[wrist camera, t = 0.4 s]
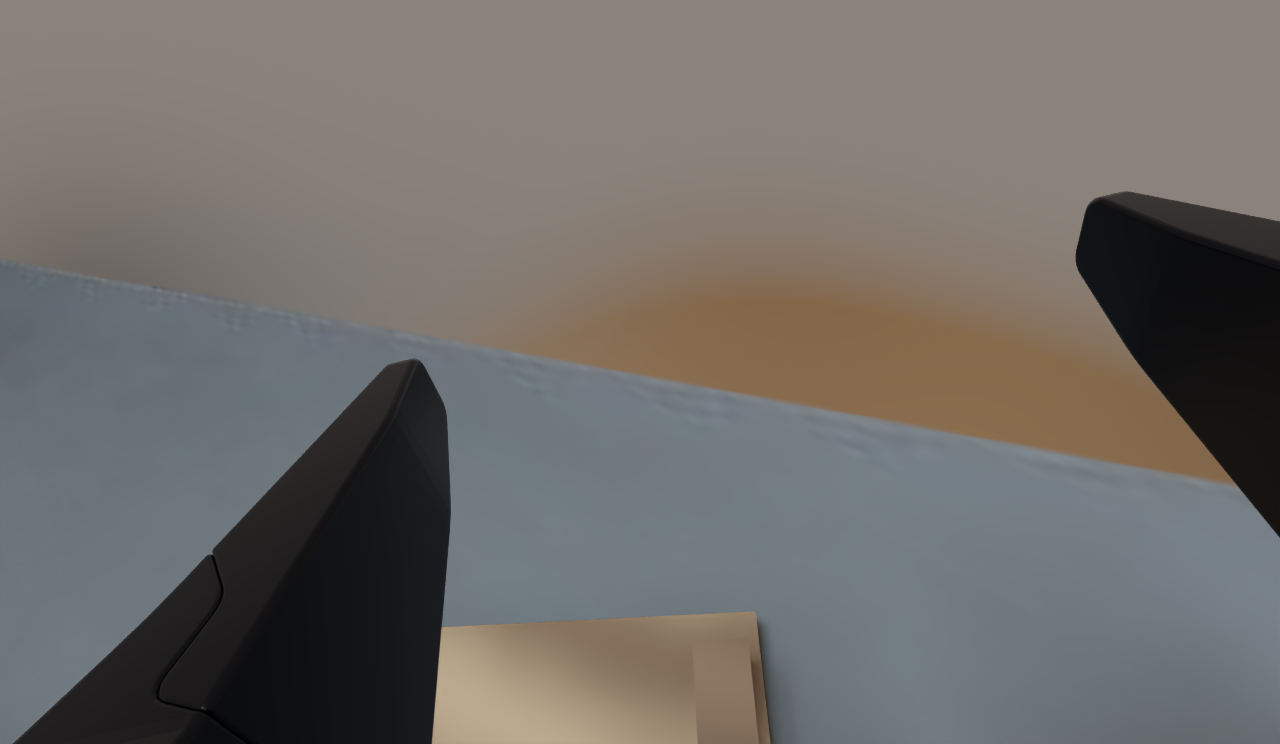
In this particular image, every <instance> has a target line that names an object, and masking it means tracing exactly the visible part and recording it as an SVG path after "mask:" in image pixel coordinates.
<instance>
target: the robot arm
mask: <svg viewBox="0 0 1280 744" xmlns="http://www.w3.org/2000/svg"><path fill="white" fill-rule="evenodd" d="M1076 265H1077V268H1078V271H1079V273H1080V274H1081V276H1082V278H1083V279H1084V281H1085V282H1086V284H1087V286H1088V287H1089V289H1090V290H1091V292H1092V294H1093V295H1094V297H1095V298H1096V300H1097V301H1098V303H1099V305H1100V306H1101V308H1102V309H1103V311H1104V312H1105V314H1106V315H1107V317H1108V319H1109V320H1110V322H1111V324H1112V325H1113V327H1114V328H1115V330H1116V331H1117V333H1118V335H1119V336H1120V338H1121V339H1122V341H1123V343H1124V344H1125V346H1126V347H1127V348H1128V350H1129V351H1130V353H1131V354H1132V356H1133V357H1134V359H1135V360H1136V361H1137V363H1138V364H1139V365H1140V366H1141V368H1142V369H1143V370H1144V372H1145V373H1146V374H1147V375H1148V377H1149V378H1150V379H1151V380H1152V382H1153V383H1154V384H1155V385H1156V386H1157V388H1158V389H1159V390H1160V391H1161V393H1162V394H1163V395H1164V396H1165V398H1166V399H1167V400H1168V401H1169V402H1170V404H1171V405H1172V406H1173V407H1174V409H1175V410H1176V411H1177V412H1178V414H1179V415H1180V416H1181V417H1182V418H1183V420H1184V421H1185V422H1186V423H1187V424H1188V426H1189V427H1190V428H1191V429H1192V431H1193V432H1194V433H1195V434H1196V436H1197V437H1198V438H1199V439H1200V440H1201V442H1202V443H1203V444H1204V445H1205V446H1206V448H1207V449H1208V450H1209V452H1210V453H1211V454H1212V455H1213V456H1214V457H1215V459H1216V460H1217V461H1218V463H1219V464H1220V465H1221V466H1222V467H1223V469H1224V470H1225V471H1226V472H1227V474H1228V475H1229V476H1230V477H1231V479H1232V480H1233V481H1234V482H1235V483H1236V485H1237V486H1238V487H1239V488H1240V490H1241V491H1242V492H1243V493H1244V495H1245V496H1246V497H1247V498H1248V499H1249V501H1250V502H1251V503H1252V504H1253V506H1254V507H1255V508H1256V509H1257V510H1258V512H1259V513H1260V514H1261V515H1262V517H1263V518H1264V519H1265V520H1266V522H1267V523H1268V524H1269V525H1270V526H1271V528H1272V529H1273V530H1274V531H1275V533H1276V534H1277V535H1278V536H1279V538H1280V222H1279V221H1275V220H1270V219H1265V218H1260V217H1255V216H1250V215H1245V214H1239V213H1235V212H1230V211H1225V210H1220V209H1214V208H1209V207H1205V206H1199V205H1194V204H1189V203H1184V202H1179V201H1174V200H1169V199H1164V198H1159V197H1154V196H1149V195H1144V194H1139V193H1134V192H1119V193H1115V194H1111V195H1107V196H1103V197H1099V198H1095V199H1094V200H1093V201H1091V202H1090V203H1089V205H1088V206H1087V208H1086V211H1085V215H1084V220H1083V224H1082V228H1081V232H1080V237H1079V241H1078V245H1077V249H1076ZM450 518H451V496H450V474H449V451H448V429H447V415H446V410H445V406H444V403H443V401H442V399H441V397H440V395H439V393H438V391H437V389H436V387H435V386H434V384H433V382H432V380H431V378H430V376H429V374H428V372H427V370H426V368H425V367H424V365H423V364H422V363H421V362H420V361H419V360H417V359H409V360H405V361H401V362H396V363H392V364H389V365H387V366H386V367H385V368H384V369H383V370H382V371H381V372H380V373H379V374H378V375H377V376H376V377H375V379H374V380H373V381H372V382H371V383H370V384H369V385H368V386H367V387H366V388H365V389H364V390H363V391H362V392H361V393H360V394H359V395H358V397H357V398H356V399H355V400H354V401H353V402H352V403H351V404H350V405H349V406H348V407H347V408H346V409H345V410H344V411H343V412H342V413H341V415H340V416H339V417H338V418H337V419H336V420H335V421H334V422H333V423H332V424H331V425H330V426H329V427H328V428H327V429H326V430H325V431H324V433H323V434H322V435H321V436H320V437H319V438H318V439H317V440H316V441H315V442H314V443H313V444H312V445H311V446H310V447H309V448H308V449H307V450H306V452H305V453H304V454H303V455H302V456H301V457H300V458H299V459H298V460H297V461H296V462H295V463H294V464H293V465H292V466H291V467H290V468H289V470H288V471H287V472H286V473H285V474H284V475H283V476H282V477H281V478H280V479H279V480H278V481H277V482H276V483H275V484H274V485H273V486H272V487H271V489H270V490H269V491H268V492H267V493H266V494H265V495H264V496H263V497H262V498H261V499H260V500H259V501H258V502H257V503H256V504H255V505H254V506H253V508H252V509H251V510H250V511H249V512H248V513H247V514H246V515H245V516H244V517H243V518H242V519H241V520H240V521H239V522H238V523H237V524H236V526H235V527H234V528H233V529H232V530H231V531H230V532H229V533H228V534H227V535H226V536H225V537H224V538H223V539H222V540H221V541H220V542H219V543H218V545H217V546H216V547H215V548H214V549H213V551H212V553H213V555H207V556H206V557H205V558H204V559H203V560H202V561H201V562H200V563H199V565H198V566H197V567H196V568H195V569H194V570H193V571H192V572H191V573H190V574H189V575H188V576H187V577H186V578H185V579H184V580H183V581H182V582H181V583H180V584H179V586H178V587H177V588H176V589H175V590H174V591H173V592H172V593H171V594H170V595H169V596H168V597H167V598H166V599H165V600H164V601H163V602H162V603H161V604H160V605H159V606H158V607H157V608H156V609H155V610H154V611H153V612H152V613H151V614H150V615H149V616H148V617H147V618H146V619H145V620H144V621H143V622H142V623H141V624H140V625H139V626H138V627H137V628H136V629H135V630H134V631H132V632H131V633H130V634H129V635H128V636H127V637H126V638H125V639H124V640H123V641H122V642H121V643H120V644H119V645H118V646H117V647H116V648H115V649H114V650H113V651H112V652H111V653H109V654H108V655H107V656H106V657H105V658H104V659H103V660H102V661H101V662H100V663H99V664H98V665H97V666H96V667H95V668H94V669H92V670H91V671H90V672H89V673H88V674H87V675H86V676H85V677H84V678H83V679H82V680H81V681H80V682H79V683H77V684H76V685H75V686H74V687H73V688H72V689H71V690H70V691H69V692H68V693H67V694H66V695H65V696H64V697H62V698H61V699H60V700H59V701H58V702H57V703H56V704H55V705H54V706H53V707H52V708H51V709H50V710H49V711H47V712H46V713H45V714H44V715H43V716H42V717H41V718H40V719H39V720H38V721H37V722H36V723H35V724H34V725H33V726H31V727H30V728H29V729H28V730H27V731H26V732H25V733H24V734H23V735H22V736H21V737H20V738H19V739H18V740H16V741H15V742H14V743H13V744H432V738H433V726H434V714H435V702H436V690H437V678H438V666H439V654H440V642H441V630H442V618H443V606H444V594H445V582H446V570H447V558H448V546H449V534H450Z"/></svg>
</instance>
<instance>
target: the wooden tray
mask: <svg viewBox="0 0 1280 744" xmlns="http://www.w3.org/2000/svg"><path fill="white" fill-rule="evenodd" d="M432 744H771V743H770V734H769V725H768V717H767V708H766V699H765V690H764V681H763V672H762V664H761V655H760V646H759V637H758V628H757V619H756V611H754V612H734V613H714V614H695V615H675V616H655V617H636V618H616V619H596V620H577V621H557V622H537V623H518V624H498V625H478V626H459V627H442V630H441V642H440V654H439V666H438V678H437V690H436V702H435V714H434V726H433V738H432Z"/></svg>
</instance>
